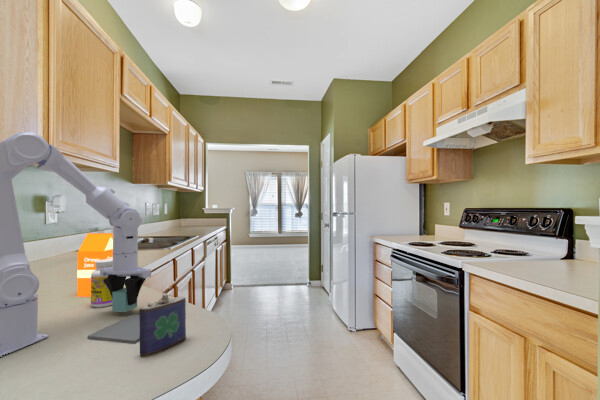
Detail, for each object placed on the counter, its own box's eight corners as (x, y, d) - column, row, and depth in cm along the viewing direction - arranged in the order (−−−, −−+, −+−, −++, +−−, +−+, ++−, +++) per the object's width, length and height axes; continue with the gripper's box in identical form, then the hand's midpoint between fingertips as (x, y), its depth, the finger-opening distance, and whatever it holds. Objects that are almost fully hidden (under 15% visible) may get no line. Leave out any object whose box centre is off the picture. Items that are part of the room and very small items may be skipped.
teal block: (125, 312, 72) (125, 292, 72) (112, 311, 73) (112, 291, 73) (137, 306, 76) (137, 288, 76) (124, 305, 77) (125, 287, 77)
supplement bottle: (86, 306, 80) (86, 261, 81) (110, 299, 86) (110, 257, 87) (98, 309, 77) (98, 263, 78) (123, 302, 83) (123, 259, 84)
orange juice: (103, 296, 89) (103, 234, 90) (76, 296, 89) (77, 234, 90) (119, 289, 97) (120, 232, 98) (95, 289, 97) (95, 232, 98)
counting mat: (134, 343, 57) (134, 340, 57) (87, 338, 60) (87, 335, 60) (172, 320, 69) (172, 318, 69) (131, 317, 72) (131, 314, 72)
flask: (181, 336, 61) (181, 286, 61) (189, 340, 59) (189, 289, 59) (136, 354, 53) (136, 298, 53) (144, 359, 51) (144, 301, 52)
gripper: (159, 250, 77) (159, 300, 77) (115, 249, 80) (115, 297, 80) (139, 255, 70) (139, 309, 70) (92, 253, 73) (92, 305, 73)
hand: (125, 303), depth 74 cm, fingers closed on teal block, 4 cm apart
